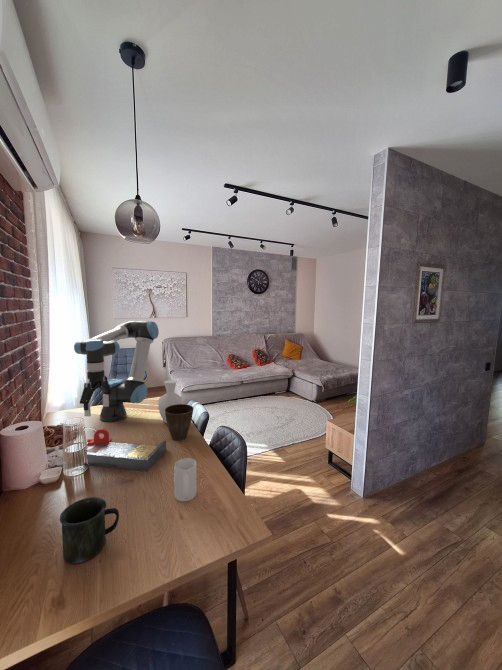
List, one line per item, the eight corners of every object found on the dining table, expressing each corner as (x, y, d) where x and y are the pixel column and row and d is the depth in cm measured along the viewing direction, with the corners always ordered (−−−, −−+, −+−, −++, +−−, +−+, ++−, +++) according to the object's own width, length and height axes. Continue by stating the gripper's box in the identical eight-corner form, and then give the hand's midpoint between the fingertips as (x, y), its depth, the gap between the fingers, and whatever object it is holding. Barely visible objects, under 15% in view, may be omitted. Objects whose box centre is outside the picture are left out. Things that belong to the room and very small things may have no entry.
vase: (172, 414, 178) (172, 377, 176) (187, 420, 170) (187, 381, 168) (153, 421, 166) (153, 381, 164) (168, 427, 158) (168, 386, 156)
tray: (110, 444, 137) (109, 435, 136) (166, 450, 133) (166, 440, 132) (83, 464, 119) (83, 453, 119) (147, 471, 115) (147, 460, 115)
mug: (65, 541, 80) (63, 503, 79) (119, 525, 86) (119, 489, 85) (57, 573, 70) (55, 530, 69) (119, 552, 76) (118, 513, 75)
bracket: (111, 439, 142) (111, 425, 142) (108, 444, 138) (108, 429, 137) (86, 441, 140) (86, 426, 140) (82, 445, 136) (82, 430, 135)
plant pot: (191, 429, 156) (191, 403, 155) (194, 441, 142) (194, 412, 140) (164, 433, 151) (164, 405, 150) (165, 445, 137) (164, 415, 136)
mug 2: (173, 511, 92) (173, 478, 91) (173, 489, 104) (173, 459, 103) (198, 507, 95) (198, 474, 94) (195, 485, 106) (195, 456, 105)
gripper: (105, 365, 149) (106, 402, 151) (69, 375, 124) (71, 420, 126) (117, 365, 148) (119, 403, 150) (84, 376, 123) (86, 421, 125)
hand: (97, 411), depth 138 cm, fingers open, 13 cm apart
